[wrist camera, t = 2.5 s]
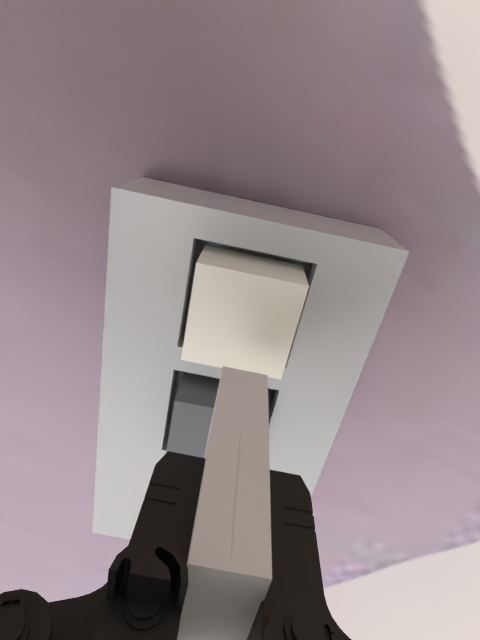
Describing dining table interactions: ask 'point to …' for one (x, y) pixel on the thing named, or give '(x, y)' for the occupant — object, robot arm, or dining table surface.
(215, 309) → the ivory key
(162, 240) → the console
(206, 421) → the charcoal key
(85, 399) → the dining table surface
